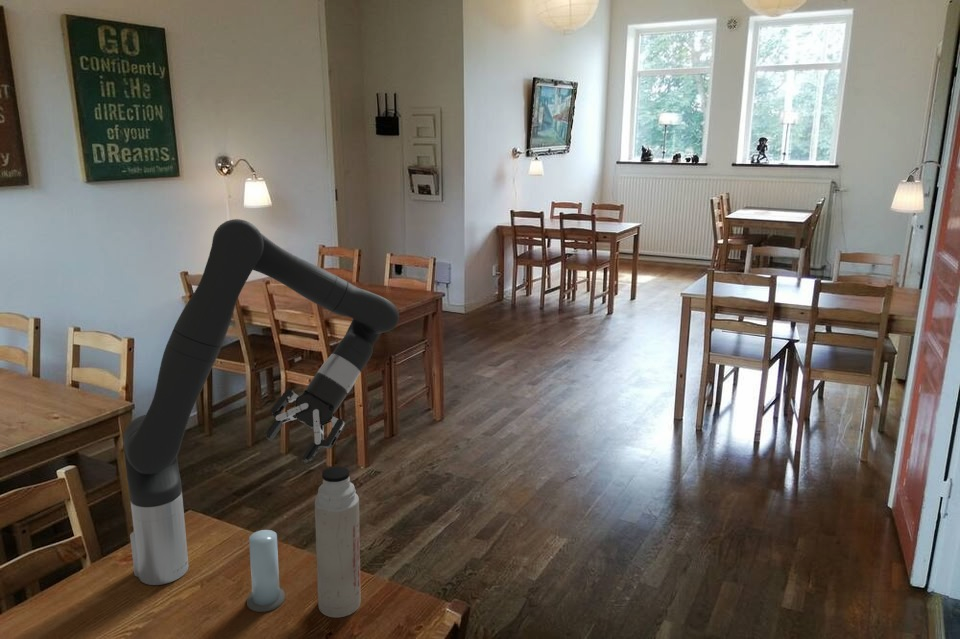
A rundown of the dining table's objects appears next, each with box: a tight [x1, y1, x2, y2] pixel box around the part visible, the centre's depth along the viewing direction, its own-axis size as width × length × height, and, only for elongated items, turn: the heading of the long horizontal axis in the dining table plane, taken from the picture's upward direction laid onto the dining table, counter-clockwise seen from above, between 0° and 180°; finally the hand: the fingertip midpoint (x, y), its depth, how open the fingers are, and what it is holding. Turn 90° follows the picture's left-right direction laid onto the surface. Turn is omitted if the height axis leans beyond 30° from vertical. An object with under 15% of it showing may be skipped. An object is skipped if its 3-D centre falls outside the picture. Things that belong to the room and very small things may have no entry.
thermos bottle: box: [314, 465, 362, 619], centre depth 127 cm, size 8×8×28 cm
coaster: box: [246, 587, 286, 613], centre depth 131 cm, size 7×7×1 cm
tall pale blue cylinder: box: [248, 529, 280, 605], centre depth 129 cm, size 5×5×13 cm
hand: (286, 450), depth 133 cm, fingers open, 8 cm apart
